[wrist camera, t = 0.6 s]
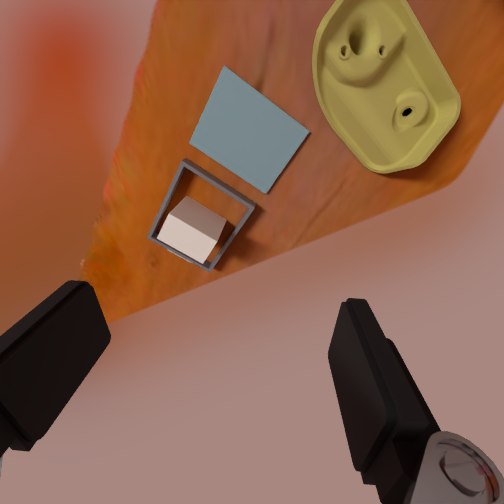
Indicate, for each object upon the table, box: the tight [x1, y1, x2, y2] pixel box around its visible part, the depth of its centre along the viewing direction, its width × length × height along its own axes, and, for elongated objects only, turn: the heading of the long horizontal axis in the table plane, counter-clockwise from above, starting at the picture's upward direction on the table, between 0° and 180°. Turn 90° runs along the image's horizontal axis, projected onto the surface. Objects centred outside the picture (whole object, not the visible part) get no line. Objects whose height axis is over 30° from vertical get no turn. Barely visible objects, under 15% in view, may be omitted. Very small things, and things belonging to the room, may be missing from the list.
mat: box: [189, 66, 310, 194], centre depth 36 cm, size 11×14×1 cm
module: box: [157, 196, 227, 264], centre depth 40 cm, size 5×8×8 cm, turn 57°
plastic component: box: [312, 0, 461, 173], centre depth 30 cm, size 20×7×10 cm
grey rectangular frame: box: [147, 158, 256, 272], centre depth 43 cm, size 17×13×2 cm
